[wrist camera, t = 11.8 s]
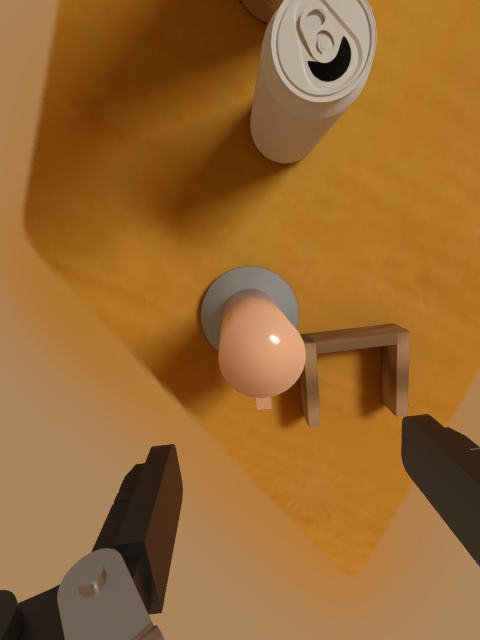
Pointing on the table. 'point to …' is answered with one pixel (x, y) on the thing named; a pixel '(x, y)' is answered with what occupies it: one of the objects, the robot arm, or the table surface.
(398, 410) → the wooden u-shaped frame
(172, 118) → the table surface
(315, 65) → the beverage can
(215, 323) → the grey dome disc
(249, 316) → the peach cylinder with handle
